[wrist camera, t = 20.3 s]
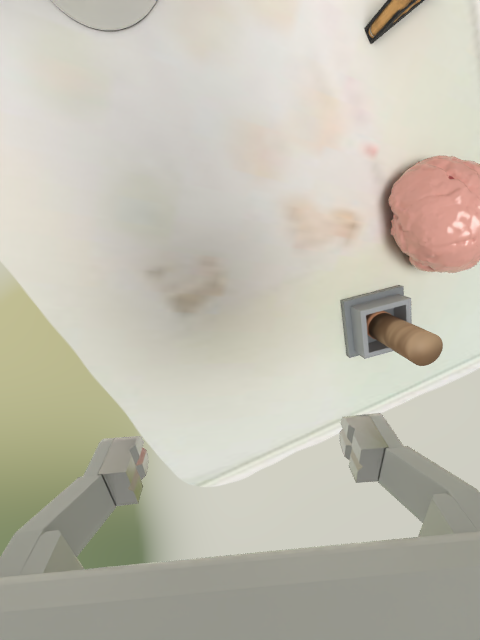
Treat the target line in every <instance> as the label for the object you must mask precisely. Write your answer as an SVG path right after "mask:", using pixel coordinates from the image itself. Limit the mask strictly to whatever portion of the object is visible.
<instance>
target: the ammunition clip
mask: <svg viewBox="0 0 480 640" xmlns="http://www.w3.org/2000/svg"><path fill="white" fill-rule="evenodd" d="M423 1H424V0H388V1H387V2H386V3H385V4H384V5H383V7H382V8H381V9H380V10H379V12H378V13H377V14H376V15H375V16H374V18H373V19H372V20H371V21H370V23H369V24H368V25H367V26H366V27H365V31H366V33H367V35H368V38H369V40H370V42H371V43H373V42H374V41H376V40H377V39H378V38H379V37H381V36H382V35H383V34H384V33H385V32H387V31H388V30H389V29H390V28H391V27H393V26H394V25H395V24H396V23H397V22H399V21H400V20H401V19H402V18H404V17H405V16H406V15H407V14H408V13H410V12H411V11H412V10H413V9H414V8H416V7H417V6H418V5H419V4H420V3H422V2H423Z"/></svg>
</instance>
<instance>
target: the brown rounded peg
mask: <svg viewBox="0 0 480 640" xmlns="http://www.w3.org/2000/svg"><path fill="white" fill-rule="evenodd" d="M366 322H367V335H368V336H370V337H372V338H373V339H376V340H378V341H379V342H381V343H382V344H384V345H386V346H387V347H389V348H390V349H392V350H394V351H395V352H397V353H399V354H400V355H402V356H403V357H405V358H407V359H408V360H410V361H411V362H413V363H415V364H416V365H419V366H425V365H429V364H431V363H432V362H434V361H435V360H436V359H437V358H438V357H439V355H440V354H441V352H442V348H443V343H442V340H441V338H440V337H439V336H437V335H436V334H433V333H431V332H429V331H426V330H424V329H422V328H420V327H417V326H415V325H413V324H411V323H408V322H406V321H404V320H402V319H399V318H397V317H395V316H393V315H391V314H390V313H387V312H385V311H379V312H376V313H372V314H368V315H366Z"/></svg>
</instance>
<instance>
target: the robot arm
mask: <svg viewBox="0 0 480 640" xmlns="http://www.w3.org/2000/svg"><path fill="white" fill-rule="evenodd" d="M51 1H52V2H53V3H54V4H55V5H56V6H57V7H58V8H59V9H60V10H61V11H63V12H64V13H65V14H66V15H68V16H69V17H71V18H72V19H74V20H75V21H77V22H79V23H81V24H83V25H85V26H88V27H91V28H95V29H99V30H120V29H124V28H127V27H129V26H132V25H134V24H135V23H137V22H138V21H140V20H141V19H142V18H144V17H145V16H146V15H147V14H148V13H149V11H150V10H151V9H152V7H153V6H154V4H155V3H156V1H157V0H51ZM341 426H342V428H343V429H342V430H341V431H340V445H341V449H342V452H343V454H344V456H345V457H346V458H347V459H349V460H350V463H349V468H350V470H351V472H352V475H353V477H354V479H355V481H356V483H359V482H373V481H379V482H378V483H380V484H381V485H382V486H383V487H384V488H385V489H386V490H387V491H388V492H389V493H390V494H392V495H393V496H394V497H395V498H396V499H397V500H398V501H399V502H400V503H401V504H403V505H404V506H405V507H406V508H407V509H408V510H409V511H410V512H411V513H412V514H414V515H415V516H416V517H417V518H418V519H419V520H420V521H421V522H422V523H423V525H422V528H421V530H420V533H419V536H418V537H413V538H403V539H392V540H382V541H372V542H362V543H352V544H341V545H331V546H320V547H309V548H299V549H288V550H279V551H267V552H257V553H247V554H237V555H226V556H216V557H206V558H196V559H186V560H175V561H166V562H165V561H164V562H154V563H144V564H134V565H123V566H114V567H113V566H112V567H102V568H92V569H84V568H83V567H82V565H81V564H80V562H79V560H78V559H77V556H78V555H79V553H80V552H81V551H82V550H83V548H84V547H85V546H86V545H87V543H88V542H89V541H90V539H91V538H92V537H93V536H94V534H95V533H96V532H97V531H98V529H99V528H100V527H101V526H102V524H103V523H104V522H105V521H106V519H107V518H108V517H109V516H110V514H111V513H112V512H113V510H114V509H115V508H116V506H120V505H129V504H137V503H138V502H139V499H140V495H141V492H142V488H143V485H142V482H141V480H142V479H143V478H144V477H145V476H146V473H147V469H148V454H147V450H146V449H144V448H143V443H144V441H143V439H142V437H141V436H136V437H122V438H109V439H103V440H102V441H101V442H100V443H99V445H98V447H97V449H96V451H95V453H94V455H93V457H92V459H91V461H90V463H89V465H88V467H87V469H86V471H85V473H84V475H83V477H79V478H77V479H76V480H75V481H74V482H73V483H72V484H71V485H69V486H68V487H67V488H66V489H65V490H64V491H63V492H61V493H60V494H59V495H58V496H57V497H56V498H54V499H53V500H52V501H51V502H50V503H49V504H48V505H46V506H45V507H44V508H43V509H42V510H41V511H40V512H38V513H37V514H36V515H35V516H34V517H33V518H32V519H30V520H29V521H28V522H27V523H26V524H25V525H23V527H21V528H20V529H19V530H18V531H17V532H16V533H15V534H14V535H13V537H12V539H11V540H10V542H9V544H8V545H7V547H6V549H5V550H4V552H3V554H2V555H1V557H0V640H480V492H479V491H478V490H477V489H476V488H474V487H473V486H471V485H469V484H468V483H466V482H464V481H463V480H461V479H459V478H458V477H456V476H455V475H453V474H452V473H450V472H448V471H447V470H445V469H444V468H442V467H440V466H439V465H437V464H436V463H434V462H432V461H431V460H429V459H428V458H426V457H424V456H423V455H421V454H419V453H418V452H416V451H415V450H413V449H411V448H410V447H408V446H403V444H402V443H401V441H400V440H399V439H398V437H397V436H396V434H395V433H394V431H393V430H392V428H391V427H390V425H389V424H388V423H387V421H386V420H385V418H384V417H383V415H382V414H380V413H377V414H367V415H356V416H347V417H342V419H341Z"/></svg>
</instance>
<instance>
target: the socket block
mask: <svg viewBox="0 0 480 640" xmlns="http://www.w3.org/2000/svg"><path fill="white" fill-rule="evenodd" d="M341 308H342V317H343V326H344V335H345V344H346V353H347V356H348V357H349V358H351V357H354V356H358V355H360V356H362V357H363V358H364V359H365V358H369V357H373V356H376V355H380V354H384V353H387V352H391V351H394V350H392V349H390V348H389V347H387V346H386V345H384V344H382V343H381V342H379V341H378V340H376V339H373V338H372V337H370V336H368V335H367V322H366V315H368V314H372V313H376V312H379V311H385V312H387V313H390V314H391V315H393V316H395V317H397V318H399V319H402V320H404V321H406V322H408V323H411V298H409V297H406V296H404V292H403V286H400V285H398V286H394V287H390V288H386V289H383V290H379V291H375V292H371V293H367V294H363V295H360V296H356V297H352V298H348V299H344V300H341ZM411 324H412V323H411Z"/></svg>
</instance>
